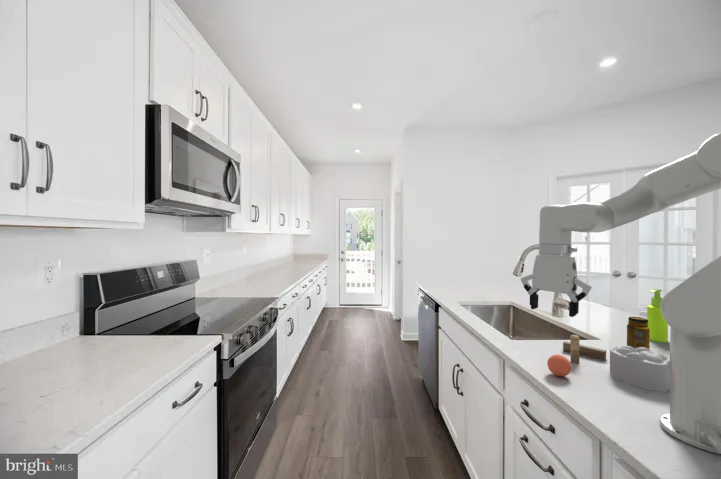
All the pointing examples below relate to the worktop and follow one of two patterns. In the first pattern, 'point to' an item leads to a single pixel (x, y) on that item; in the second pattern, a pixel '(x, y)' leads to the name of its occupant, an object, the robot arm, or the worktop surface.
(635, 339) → the condiment
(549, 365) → the ball
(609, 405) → the worktop surface
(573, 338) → the pin
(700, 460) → the worktop surface
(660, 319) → the soap dispenser
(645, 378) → the paw print mold
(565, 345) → the wall
